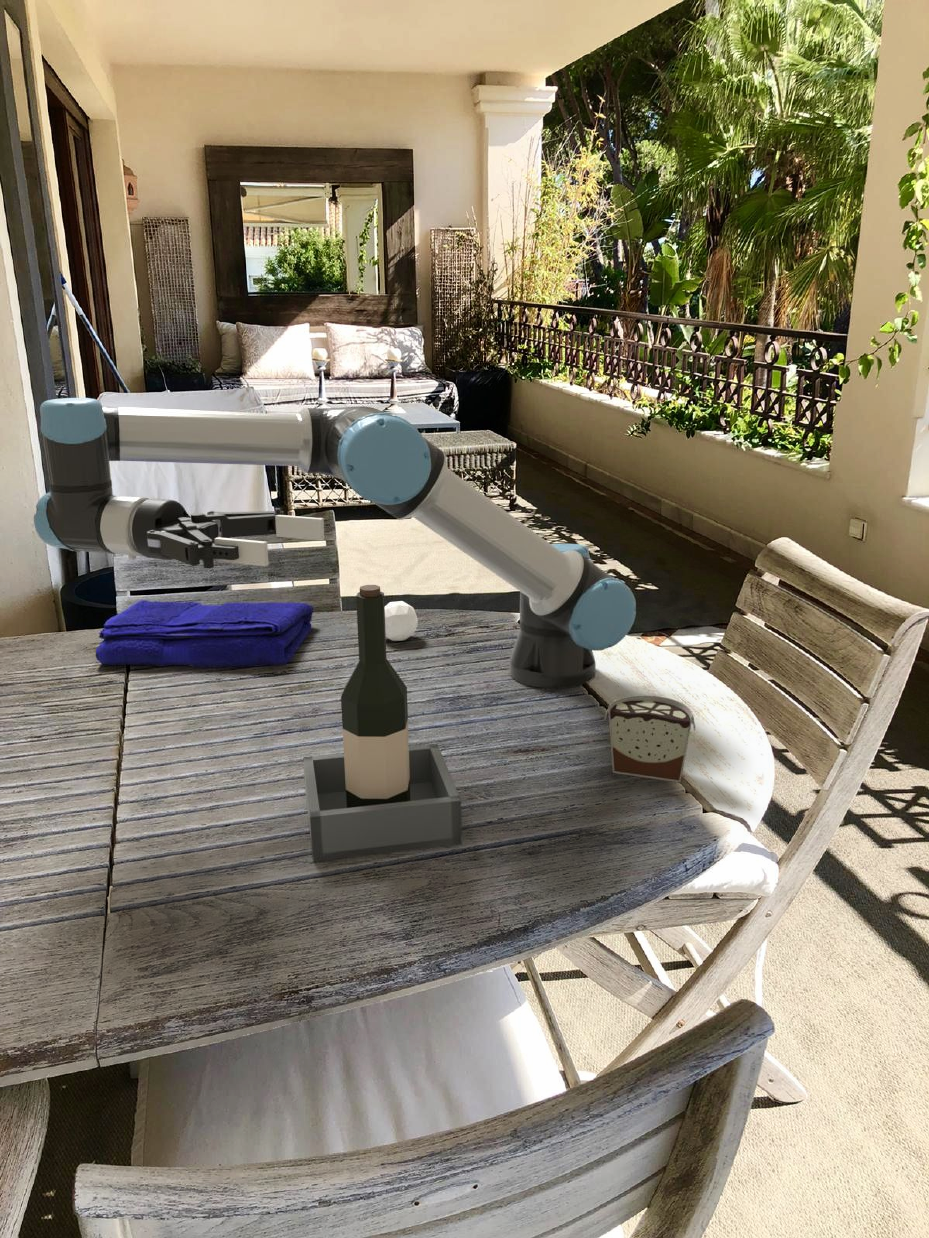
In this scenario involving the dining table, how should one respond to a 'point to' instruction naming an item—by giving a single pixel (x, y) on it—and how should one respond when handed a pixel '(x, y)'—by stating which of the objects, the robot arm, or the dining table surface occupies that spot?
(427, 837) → the tote
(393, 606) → the ball
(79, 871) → the dining table surface
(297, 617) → the towel
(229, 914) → the dining table surface
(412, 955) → the dining table surface
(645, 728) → the food container
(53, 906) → the dining table surface
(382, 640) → the wine bottle
